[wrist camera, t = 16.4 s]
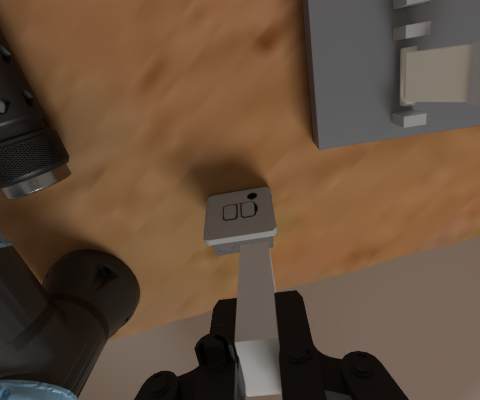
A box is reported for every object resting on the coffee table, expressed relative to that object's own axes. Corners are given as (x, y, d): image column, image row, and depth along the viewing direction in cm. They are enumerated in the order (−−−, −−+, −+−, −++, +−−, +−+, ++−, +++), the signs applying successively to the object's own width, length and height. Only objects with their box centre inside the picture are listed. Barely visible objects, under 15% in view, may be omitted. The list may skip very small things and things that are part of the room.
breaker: (393, 106, 37) (485, 108, 29) (394, 49, 35) (493, 34, 27) (408, 102, 38) (500, 103, 30) (409, 46, 36) (509, 31, 28)
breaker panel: (313, 142, 44) (324, 156, 38) (294, -97, 35) (304, -136, 28) (468, 118, 42) (508, 128, 36) (493, -142, 33) (555, -195, 26)
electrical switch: (270, 184, 47) (275, 217, 39) (275, 214, 49) (280, 252, 41) (207, 195, 48) (198, 230, 40) (215, 224, 50) (208, 263, 42)
